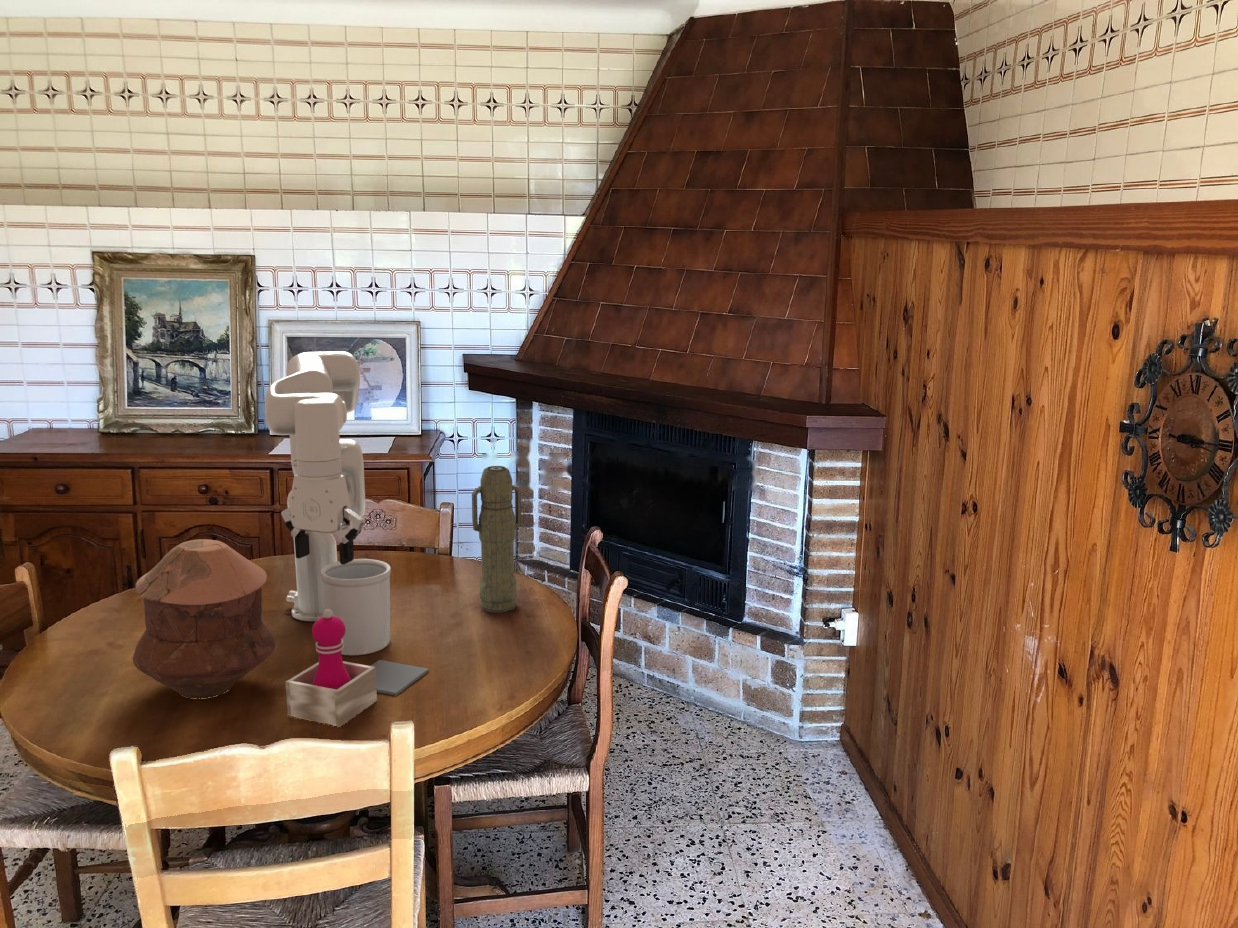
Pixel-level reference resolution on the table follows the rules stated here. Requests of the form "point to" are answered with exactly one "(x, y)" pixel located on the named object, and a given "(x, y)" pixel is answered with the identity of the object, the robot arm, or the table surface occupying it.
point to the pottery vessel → (202, 619)
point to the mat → (396, 676)
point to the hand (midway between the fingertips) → (324, 559)
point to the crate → (331, 695)
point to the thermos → (497, 538)
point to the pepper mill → (330, 651)
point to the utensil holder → (359, 603)
